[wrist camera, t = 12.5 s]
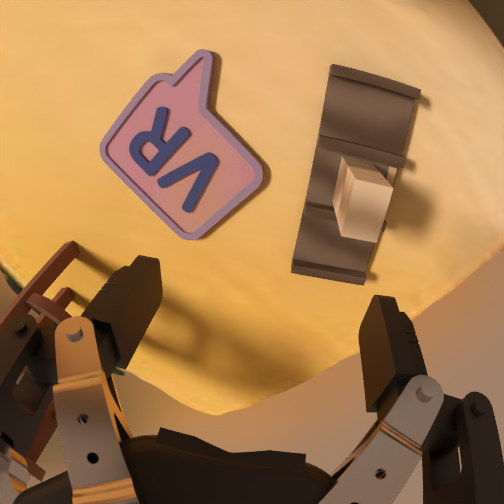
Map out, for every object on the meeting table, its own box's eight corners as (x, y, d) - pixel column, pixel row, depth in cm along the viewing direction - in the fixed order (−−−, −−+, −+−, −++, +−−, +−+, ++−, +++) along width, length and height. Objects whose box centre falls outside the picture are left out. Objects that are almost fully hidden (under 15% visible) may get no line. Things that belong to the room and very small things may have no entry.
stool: (-75, 379, 19) (-49, 407, 13) (40, 252, 48) (106, 228, 43) (9, 460, 28) (76, 501, 22) (88, 329, 57) (159, 324, 52)
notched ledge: (330, 65, 28) (332, 63, 26) (413, 89, 27) (420, 89, 25) (291, 262, 41) (290, 272, 39) (360, 275, 41) (363, 285, 39)
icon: (304, 149, 33) (189, 246, 41) (304, 147, 34) (192, 241, 43) (189, 34, 27) (94, 151, 36) (193, 36, 28) (100, 148, 37)
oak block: (342, 156, 32) (355, 179, 25) (373, 163, 32) (395, 188, 24) (332, 201, 35) (341, 236, 28) (361, 207, 35) (377, 243, 27)
